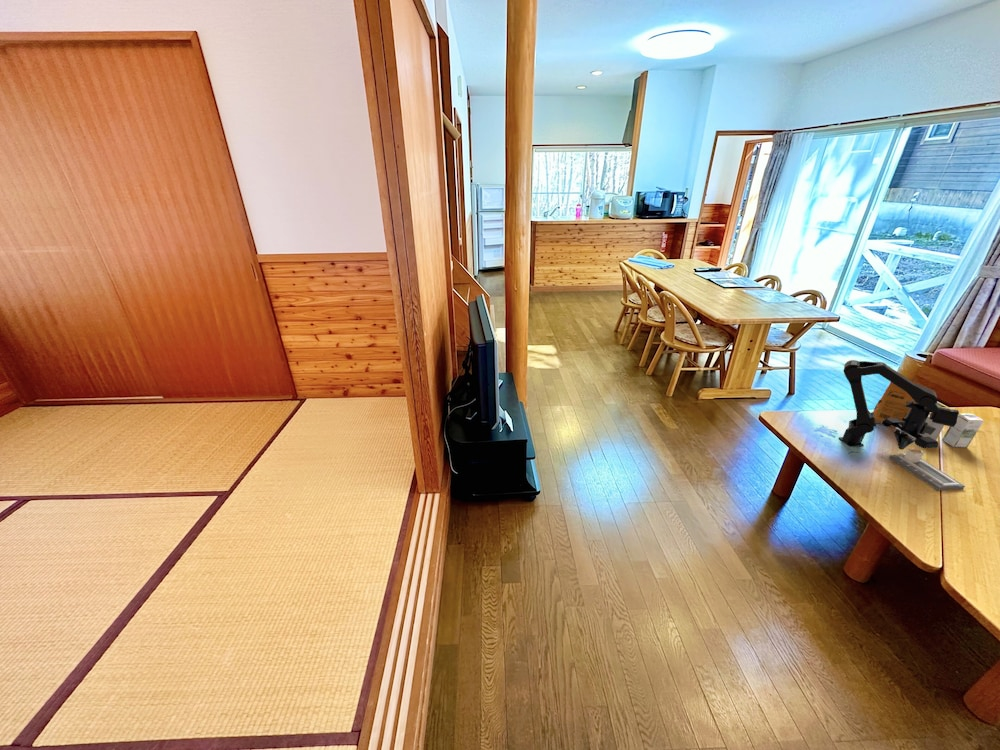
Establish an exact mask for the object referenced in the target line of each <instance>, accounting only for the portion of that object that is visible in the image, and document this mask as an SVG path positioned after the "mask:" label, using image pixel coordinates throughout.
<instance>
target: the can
mask: <svg viewBox="0 0 1000 750" xmlns="http://www.w3.org/2000/svg"><path fill="white" fill-rule="evenodd" d="M930 414H931V412H930ZM930 414H929V416H928V418H927V420H926V422H927V423H928V424H929V425H930V426H932V427H934V428H936V430H935V431H934V432H933V433H932V434H931V435H929V434H928V433H925V434H920V435H922V436H923V437H931V438H932V439H934V440H936V441H937V440H938V437H939V436H940V435H941V432H942V430H943V429H944V427H945V425H942V424H937V423H933V422H932V420H931V419H929V417H930Z"/></svg>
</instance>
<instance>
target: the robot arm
mask: <svg viewBox="0 0 1000 750" xmlns="http://www.w3.org/2000/svg"><path fill="white" fill-rule="evenodd" d="M843 374H844V376H845V378H846V380H847V381H848V383H849V384H850V388H851V389H850V390H851V393H852V397H853V401H854V402H853V403H854V406H855V411H856V412H855V413H856V418H854V419H852V420H849V422H848V427H847V428H846V429H845V431H844V434H843V435H842V437H838V439H839V440H840V441H841V442H842V443H844V444H846V445H847V446H849V447H863V446H864V445H865V444H864V443H863V440H864V438H865V435H866V434H868V433H872V432H873V431H874V430H875V427H877V423H876V419H875V418H874V412H873V411H872V412H870V411H869V409H868V405H867V400H866V396H865V391H864V387H863V382H862V377H863V376H871V375H880V376H881V377H883V378H884V379H885V380H887V381H889V382H892V383H893V384H895V385H897V386H898V387H900V388H901V389H903V390H904V391H906V392H907V393H908V394H909V395H910V396H911V397H912V399H913V400H915V402H914V401H913V400H912V401H909V402H906V403H905V404H906V407H909V408H910V410H909V412H908V414H907V416H906V417H903V418H902V420H904V422H902V421H900V420H898V419H897V418H886V419H884V420H883V421H882V424H881V425H882V426H885V427H886V428H892V427H891V425H893V426H894V427H896V428H895V430H894V431H892V432H893V434H894V436H895V439H896V444H897V448H898V449H899V450H900V451H903V450H904V449H906V448H907V447H909V445H911V444H913V443H915V445H916V446H918V447H920V448H921V449H937V448H938V446H939V444H940V443H939V441H937V440H934V439H932V438H931V437H923V436H922V435H920V434H925V433H928V434H929V435H931V434H932V433H933V432H934V431H935V430H936V428H934V427H932V426H930V425H929V424H928V423H927V422H926V420H927V418H928V416H929V414H930V413H931V414H930V417H929V419H931V420H932V422H933V423H937V424H942V425H944V426H947V427H954V426H955V424H956V423H957V418H958V414H959V413H960V412H959V410H958V409H955V408H954V409H951V408H948V407H947V408H946V407H942V406H940V405H939V402H938V395H937V393H936V391H935V390H933V389H931V388H929V387H927V386H924V385H921V384H919V383H916V382H914V381H912V380H910V379H909V378H908V377H906V376H904V375H903V374H901V372H900V373H899V371H896V370H895V369H893V368H892V367H890V366H888V365H887V363H885V362H882V361H864V360H863V361H861V360H860V361H858V360H855V359H851V360H850V359H849V360H848V361H846V362H845V364H844V366H843Z"/></svg>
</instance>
